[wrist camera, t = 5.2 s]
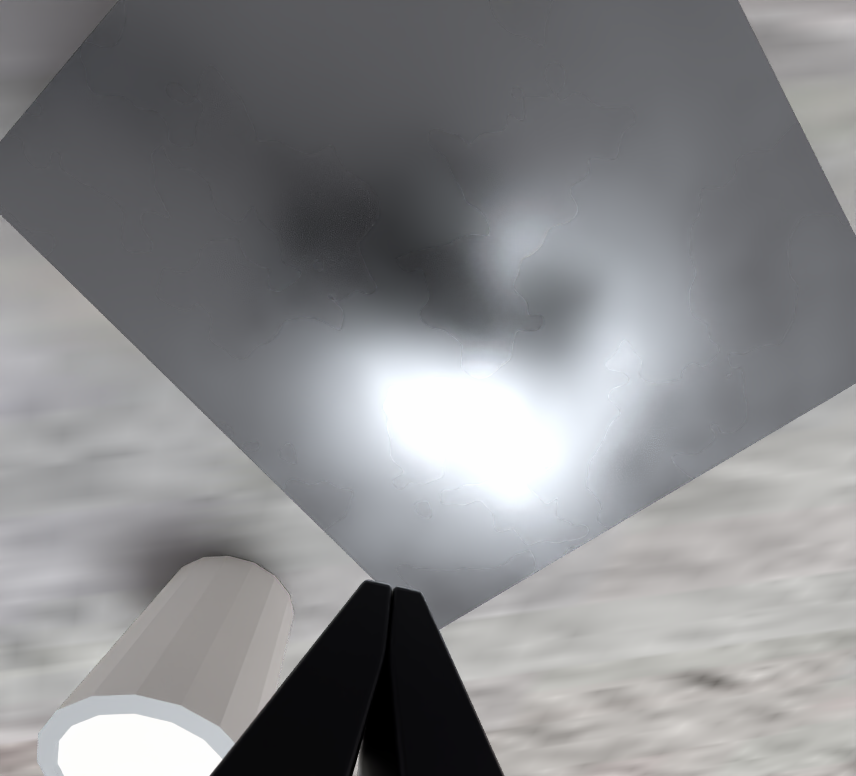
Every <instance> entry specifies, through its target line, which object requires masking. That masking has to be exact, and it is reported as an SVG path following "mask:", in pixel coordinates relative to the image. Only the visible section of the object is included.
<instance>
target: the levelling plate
mask: <svg viewBox="0 0 856 776" xmlns="http://www.w3.org/2000/svg"><path fill="white" fill-rule="evenodd" d="M0 214H1V215H2V216H3V217H4V218H5V219H6V220H7V221H8V222H9V223H10V224H11V225H12V226H13V227H14V228H15V229H16V230H17V231H18V232H19V233H20V234H21V235H22V236H23V237H24V238H25V239H26V240H27V241H28V242H29V243H30V244H31V245H32V246H33V247H34V248H35V249H36V250H37V251H39V252H40V253H41V254H42V255H43V256H44V257H45V258H46V259H47V260H48V261H49V262H50V263H51V264H52V265H53V266H54V267H55V268H56V269H57V270H58V271H59V272H60V273H61V274H62V275H63V276H64V277H65V278H66V279H67V280H68V281H69V282H70V283H71V284H72V285H73V286H74V287H75V288H76V289H77V290H78V291H79V292H80V293H81V294H82V295H83V296H84V297H86V298H87V299H88V300H89V301H90V302H91V303H92V304H93V305H94V306H95V307H96V308H97V309H98V310H99V311H100V312H101V313H102V314H103V315H104V316H105V317H106V318H107V319H108V320H109V321H110V322H111V323H112V324H113V325H114V326H115V327H116V328H117V329H118V330H119V331H120V332H121V333H122V334H123V335H124V336H125V337H126V338H127V339H128V340H129V341H130V342H131V343H132V344H134V345H135V346H136V347H137V348H138V349H139V350H140V351H141V352H142V353H143V354H144V355H145V356H146V357H147V358H148V359H149V360H150V361H151V362H152V363H153V364H154V365H155V366H156V367H157V368H158V369H159V370H160V371H161V372H162V373H163V374H164V375H165V376H166V377H167V378H168V379H169V380H170V381H171V382H172V383H173V384H174V385H175V386H176V387H177V388H178V389H179V390H180V391H182V392H183V393H184V394H185V395H186V396H187V397H188V398H189V399H190V400H191V401H192V402H193V403H194V404H195V405H196V406H197V407H198V408H199V409H200V410H201V411H202V412H203V413H204V414H205V415H206V416H207V417H208V418H209V419H210V420H211V421H212V422H213V423H214V424H215V425H216V426H217V427H218V428H219V429H220V430H221V431H222V432H223V433H224V434H225V435H226V436H227V437H228V438H230V439H231V440H232V441H233V442H234V443H235V444H236V445H237V446H238V447H239V448H240V449H241V450H242V451H243V452H244V453H245V454H246V455H247V456H248V457H249V458H250V459H251V460H252V461H253V462H254V463H255V464H256V465H257V466H258V467H259V468H260V469H261V470H262V471H263V472H264V473H265V474H266V475H267V476H268V477H269V478H270V479H271V480H272V481H273V482H274V483H275V484H276V485H278V486H279V487H280V488H281V489H282V490H283V491H284V492H285V493H286V494H287V495H288V496H289V497H290V498H291V499H292V500H293V501H294V502H295V503H296V504H297V505H298V506H299V507H300V508H301V509H302V510H303V511H304V512H305V513H306V514H307V515H308V516H309V517H310V518H311V519H312V520H313V521H314V522H315V523H316V524H317V525H318V526H319V527H320V528H321V529H322V530H323V531H325V532H326V533H327V534H328V535H329V536H330V537H331V538H332V539H333V540H334V541H335V542H336V543H337V544H338V545H339V546H340V547H341V548H342V549H343V550H344V551H345V552H346V553H347V554H348V555H349V556H350V557H351V558H352V559H353V560H354V561H355V562H356V563H357V564H358V565H359V566H360V567H361V568H362V569H363V570H364V571H365V572H366V573H367V574H368V575H369V576H370V577H371V578H373V579H374V580H375V581H378V582H382V583H387V584H390V585H391V587H392V590H393V588H394V587H396V586H401V587H406V588H411V589H415V590H419V591H420V592H421V593H422V594H423V596H424V598H425V600H426V602H427V605H428V607H429V609H430V611H431V613H432V616H433V618H434V620H435V622H436V625H437V627H438V629H441V628H443V627H444V626H446V625H448V624H450V623H451V622H453V621H455V620H456V619H458V618H460V617H461V616H463V615H465V614H466V613H468V612H470V611H472V610H473V609H475V608H477V607H478V606H480V605H482V604H483V603H485V602H487V601H488V600H490V599H492V598H494V597H495V596H497V595H499V594H500V593H502V592H504V591H505V590H507V589H509V588H510V587H512V586H514V585H516V584H517V583H519V582H521V581H522V580H524V579H526V578H527V577H529V576H531V575H532V574H534V573H536V572H538V571H539V570H541V569H543V568H544V567H546V566H548V565H549V564H551V563H553V562H554V561H556V560H558V559H559V558H561V557H563V556H565V555H566V554H568V553H570V552H571V551H573V550H575V549H576V548H578V547H580V546H581V545H583V544H585V543H587V542H588V541H590V540H592V539H593V538H595V537H597V536H598V535H600V534H602V533H603V532H605V531H607V530H609V529H610V528H612V527H614V526H615V525H617V524H619V523H620V522H622V521H624V520H625V519H627V518H629V517H631V516H632V515H634V514H636V513H637V512H639V511H641V510H642V509H644V508H646V507H647V506H649V505H651V504H652V503H654V502H656V501H658V500H659V499H661V498H663V497H664V496H666V495H668V494H669V493H671V492H673V491H674V490H676V489H678V488H680V487H681V486H683V485H685V484H686V483H688V482H690V481H691V480H693V479H695V478H696V477H698V476H700V475H702V474H703V473H705V472H707V471H708V470H710V469H712V468H713V467H715V466H717V465H718V464H720V463H722V462H724V461H725V460H727V459H729V458H730V457H732V456H734V455H735V454H737V453H739V452H740V451H742V450H744V449H746V448H747V447H749V446H751V445H752V444H754V443H756V442H757V441H759V440H761V439H762V438H764V437H766V436H767V435H769V434H771V433H773V432H774V431H776V430H778V429H779V428H781V427H783V426H784V425H786V424H788V423H789V422H791V421H793V420H795V419H796V418H798V417H800V416H801V415H803V414H805V413H806V412H808V411H810V410H811V409H813V408H815V407H817V406H818V405H820V404H822V403H823V402H825V401H827V400H828V399H830V398H832V397H833V396H835V395H837V394H839V393H840V392H842V391H844V390H845V389H847V388H849V387H850V386H852V385H854V384H855V383H856V236H855V234H854V232H853V230H852V228H851V226H850V224H849V222H848V220H847V218H846V216H845V214H844V212H843V210H842V208H841V206H840V204H839V202H838V200H837V198H836V196H835V194H834V192H833V190H832V188H831V186H830V184H829V182H828V180H827V178H826V176H825V174H824V172H823V170H822V168H821V166H820V164H819V162H818V160H817V158H816V156H815V154H814V152H813V150H812V148H811V146H810V144H809V142H808V140H807V138H806V136H805V134H804V132H803V130H802V128H801V126H800V124H799V122H798V120H797V118H796V116H795V114H794V112H793V110H792V108H791V106H790V104H789V102H788V100H787V98H786V96H785V94H784V92H783V90H782V88H781V86H780V84H779V82H778V80H777V78H776V76H775V74H774V72H773V70H772V68H771V66H770V64H769V62H768V60H767V58H766V56H765V54H764V52H763V50H762V48H761V46H760V44H759V42H758V40H757V38H756V36H755V34H754V32H753V30H752V28H751V26H750V24H749V22H748V20H747V18H746V16H745V14H744V12H743V10H742V8H741V6H740V4H739V2H738V0H119V1H118V2H117V3H116V5H115V6H114V7H113V8H112V9H111V10H110V12H109V13H108V14H107V15H106V16H105V18H104V19H103V20H102V21H101V22H100V24H99V25H98V26H97V27H96V28H95V30H94V31H93V32H92V33H91V34H90V35H89V37H88V38H87V39H86V40H85V41H84V43H83V44H82V45H81V46H80V47H79V49H78V50H77V51H76V52H75V53H74V55H73V56H72V57H71V58H70V59H69V61H68V62H67V63H66V64H65V65H64V66H63V68H62V69H61V70H60V71H59V72H58V74H57V75H56V76H55V77H54V78H53V80H52V81H51V82H50V83H49V84H48V86H47V87H46V88H45V89H44V90H43V91H42V93H41V94H40V95H39V96H38V97H37V99H36V100H35V101H34V102H33V103H32V105H31V106H30V107H29V108H28V109H27V111H26V112H25V113H24V114H23V115H22V116H21V118H20V119H19V120H18V121H17V122H16V124H15V125H14V126H13V127H12V128H11V130H10V131H9V132H8V133H7V134H6V136H5V137H4V138H3V139H2V140H1V142H0Z"/></svg>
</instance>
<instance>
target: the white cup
mask: <svg viewBox="0 0 856 776" xmlns="http://www.w3.org/2000/svg"><path fill="white" fill-rule="evenodd" d="M293 617H294V611H293V607H292V602H291V598H290V594H289V593H288V592H287V590H286V589H285V588H284V586H283V585H282V584H281V583H280V581H279V580H278V579H277V577H276V576H274V575H273V574H271V573H270V572H268V571H267V570H265V569H263V568H262V567H260V566H259V565H257V564H256V563H254V562H250V561H247V560H243V559H239V558H235V557H232V556H214V557H202V558H200V559H198V560H196V561H193V562H191V563H189V564H187V565H185V566H182V568H181V569H180V570H179V571H178V572H177V573H176V574H175V576H174V577H173V578H172V579H171V580H170V581H169V582H168V584H167V585H166V586H165V587H164V588H163V589H162V591H161V592H160V593H159V594H158V595H157V596H156V597H155V599H154V600H153V601H152V602H151V603H150V604H149V605H148V607H147V608H146V609H145V610H144V611H143V612H142V613H141V615H140V616H139V617H138V618H137V619H136V620H135V621H134V623H133V624H132V625H131V626H130V627H129V628H128V629H127V631H126V632H125V633H124V634H123V635H122V636H121V638H120V639H119V640H118V641H117V642H116V643H115V644H114V646H113V647H112V648H111V649H110V650H109V651H108V652H107V654H106V655H105V656H104V657H103V658H102V659H101V660H100V662H99V663H98V664H97V665H96V666H95V667H94V668H93V670H92V671H91V672H90V673H89V674H88V675H87V676H86V678H85V679H84V680H83V681H82V682H81V683H80V684H79V686H78V687H77V688H76V689H75V690H74V691H73V693H72V694H71V695H70V696H69V697H68V698H67V699H66V701H65V702H64V703H63V704H62V705H61V706H60V707H59V709H58V710H57V711H56V712H55V713H54V715H53V716H52V717H51V718H50V720H49V721H48V722H47V723H46V724H45V726H44V727H43V728H42V729H41V731H40V732H39V733H38V750H37V762H38V764H39V766H40V768H41V770H42V772H43V773H44V775H45V776H210V774H211V773H212V772H213V771H214V769H215V768H216V767H217V766H218V764H219V763H220V762H221V760H222V759H223V758H224V757H225V755H226V754H227V753H228V752H229V750H230V749H231V748H232V747H233V745H234V744H235V743H236V742H237V740H238V739H239V738H240V736H241V735H242V734H243V733H244V731H245V730H246V729H247V728H248V726H249V725H250V724H251V723H252V721H253V720H254V719H255V718H256V716H257V715H258V714H259V712H260V711H261V710H262V709H263V707H264V706H265V705H266V704H267V702H268V701H269V700H270V699H271V697H272V696H273V695H274V694H275V692H276V690H277V685H278V681H279V677H280V673H281V668H282V664H283V660H284V656H285V651H286V647H287V643H288V639H289V634H290V630H291V626H292V622H293Z"/></svg>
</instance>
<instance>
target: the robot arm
mask: <svg viewBox="0 0 856 776" xmlns="http://www.w3.org/2000/svg"><path fill="white" fill-rule="evenodd" d="M359 750H360V753H359ZM358 754H359V762H358V772H357V776H504V774H503V772H502V769H501V767H500V765H499V763H498V760H497V758H496V756H495V754H494V752H493V749H492V747H491V745H490V743H489V740H488V738H487V736H486V734H485V731H484V729H483V727H482V725H481V723H480V720H479V718H478V716H477V714H476V711H475V709H474V707H473V705H472V703H471V700H470V698H469V696H468V694H467V691H466V689H465V687H464V685H463V682H462V680H461V678H460V676H459V674H458V671H457V669H456V667H455V665H454V662H453V660H452V658H451V656H450V654H449V651H448V649H447V647H446V645H445V642H444V640H443V638H442V636H441V633H440V631H439V629H438V627H437V625H436V622H435V620H434V618H433V616H432V613H431V611H430V609H429V607H428V605H427V602H426V600H425V598H424V596H423V594H422V593H421V592H420V591H419V590H415V589H411V588H406V587H401V586H396V587H394V588H393V590H392V587H391V585H390V584H387V583H382V582H378V581H373V580H365V581H364V582H363V583H362V584H361V585H360V586H359V587H358V589H357V590H356V591H355V593H354V594H353V595H352V596H351V598H350V599H349V600H348V601H347V603H346V604H345V605H344V606H343V608H342V609H341V610H340V611H339V613H338V614H337V615H336V617H335V618H334V619H333V620H332V622H331V623H330V624H329V625H328V627H327V628H326V629H325V630H324V632H323V633H322V634H321V635H320V637H319V638H318V639H317V641H316V642H315V643H314V644H313V646H312V647H311V648H310V649H309V651H308V652H307V653H306V654H305V656H304V657H303V658H302V659H301V661H300V662H299V663H298V665H297V666H296V667H295V668H294V670H293V671H292V672H291V673H290V675H289V676H288V677H287V678H286V680H285V681H284V682H283V683H282V685H281V686H280V687H279V688H278V690H277V691H276V692H275V694H274V695H273V696H272V697H271V699H270V700H269V701H268V702H267V704H266V705H265V706H264V707H263V709H262V710H261V711H260V712H259V714H258V715H257V716H256V718H255V719H254V720H253V721H252V723H251V724H250V725H249V726H248V728H247V729H246V730H245V731H244V733H243V734H242V735H241V736H240V738H239V739H238V740H237V742H236V743H235V744H234V745H233V747H232V748H231V749H230V750H229V752H228V753H227V754H226V755H225V757H224V758H223V759H222V760H221V762H220V763H219V764H218V766H217V767H216V768H215V769H214V771H213V772H212V773H211V774H210V776H352V775H353V771H354V768H355V764H356V761H357V757H358Z"/></svg>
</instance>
